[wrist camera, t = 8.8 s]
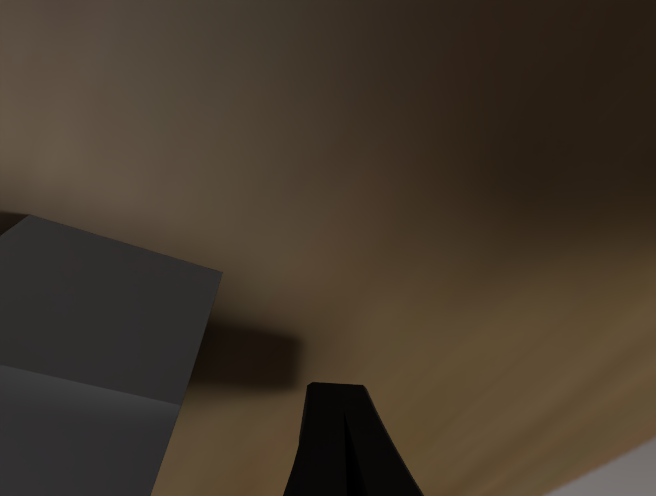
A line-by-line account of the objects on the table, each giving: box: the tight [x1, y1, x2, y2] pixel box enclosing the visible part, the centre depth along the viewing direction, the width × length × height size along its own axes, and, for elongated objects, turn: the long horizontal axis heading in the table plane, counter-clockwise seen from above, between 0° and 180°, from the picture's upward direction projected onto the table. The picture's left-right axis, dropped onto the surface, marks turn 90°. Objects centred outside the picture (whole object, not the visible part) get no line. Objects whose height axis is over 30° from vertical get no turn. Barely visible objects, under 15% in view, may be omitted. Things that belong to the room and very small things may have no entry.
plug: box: [0, 215, 223, 496], centre depth 9 cm, size 5×4×4 cm
